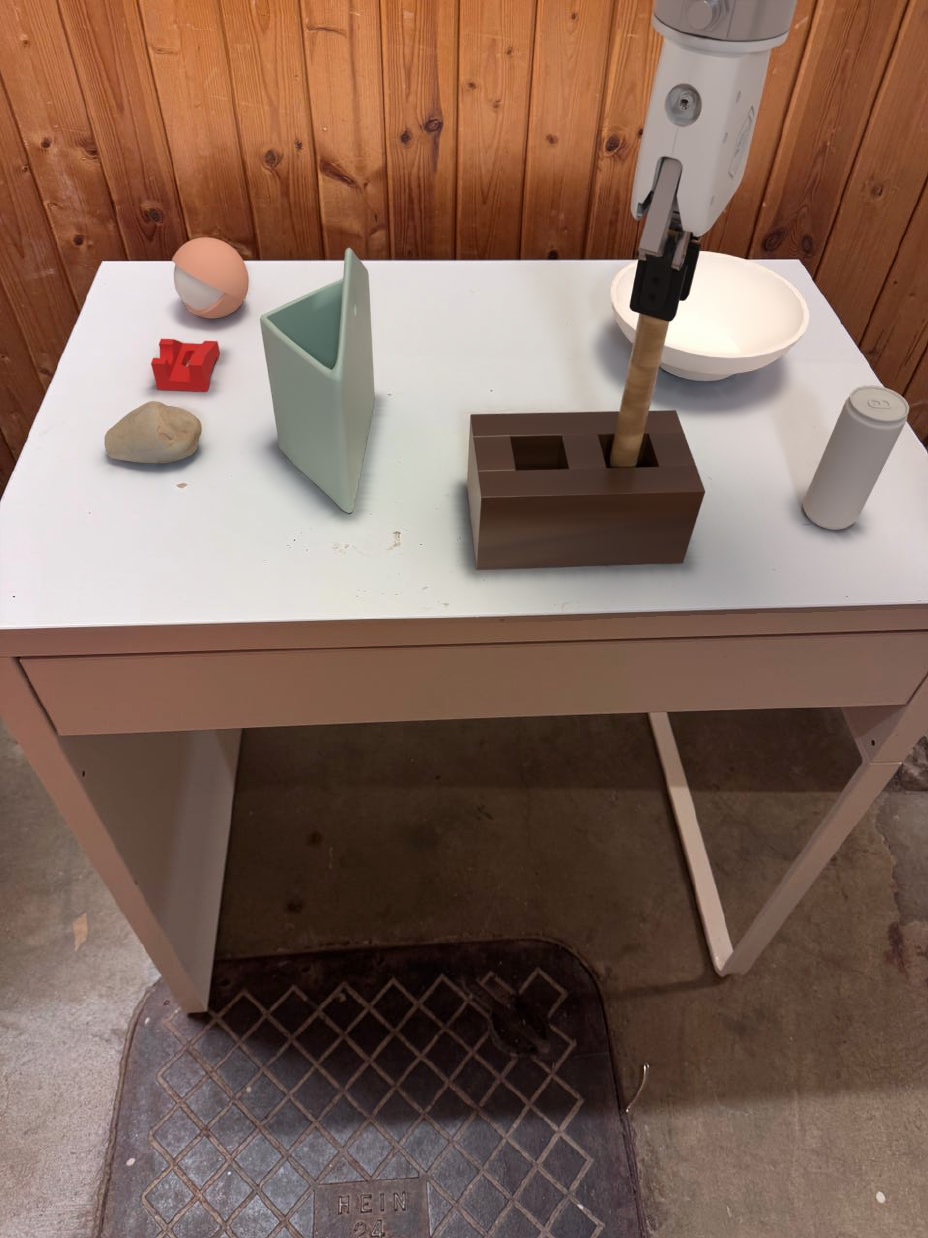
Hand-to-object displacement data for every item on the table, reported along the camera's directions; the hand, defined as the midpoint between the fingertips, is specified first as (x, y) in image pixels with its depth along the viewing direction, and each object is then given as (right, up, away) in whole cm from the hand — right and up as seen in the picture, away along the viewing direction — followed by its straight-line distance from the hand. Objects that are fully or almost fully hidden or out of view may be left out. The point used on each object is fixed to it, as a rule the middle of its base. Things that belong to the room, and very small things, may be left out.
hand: (659, 302), depth 64 cm
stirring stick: (-1, -9, +11) cm, 15 cm away
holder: (-4, -14, +16) cm, 21 cm away
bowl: (+10, +5, +33) cm, 34 cm away
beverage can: (+19, -13, +18) cm, 29 cm away
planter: (-27, -7, +21) cm, 35 cm away
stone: (-41, -7, +20) cm, 47 cm away
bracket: (-41, +3, +28) cm, 50 cm away
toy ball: (-40, +11, +35) cm, 54 cm away
